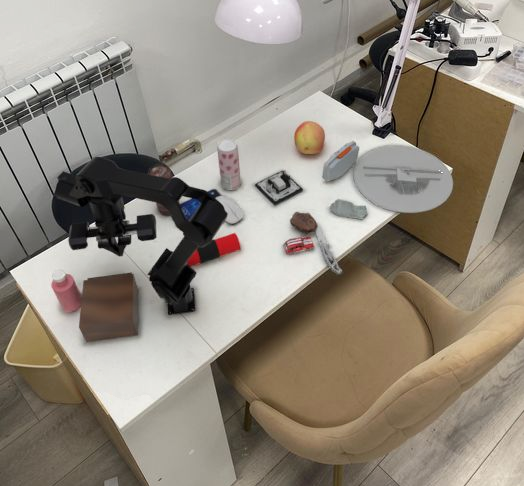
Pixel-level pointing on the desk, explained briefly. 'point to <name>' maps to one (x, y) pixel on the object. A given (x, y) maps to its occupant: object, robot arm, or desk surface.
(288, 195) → the light switch
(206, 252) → the dynamite stick
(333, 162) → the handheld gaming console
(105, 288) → the cabinet
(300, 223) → the stone
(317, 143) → the apple
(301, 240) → the toy car
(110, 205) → the robot arm
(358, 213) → the stone tool
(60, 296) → the lotion bottle
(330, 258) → the knife
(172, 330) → the desk surface
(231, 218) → the computer mouse
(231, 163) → the beverage can
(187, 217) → the smartphone
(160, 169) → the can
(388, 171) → the plate
